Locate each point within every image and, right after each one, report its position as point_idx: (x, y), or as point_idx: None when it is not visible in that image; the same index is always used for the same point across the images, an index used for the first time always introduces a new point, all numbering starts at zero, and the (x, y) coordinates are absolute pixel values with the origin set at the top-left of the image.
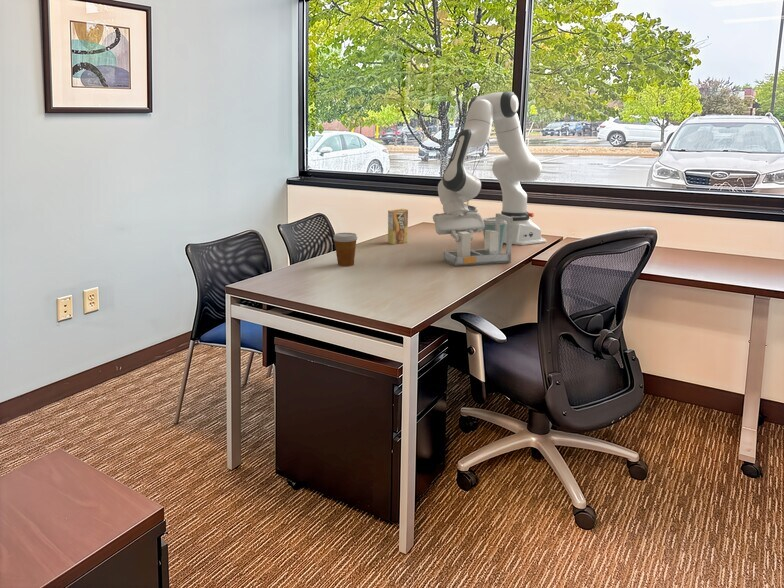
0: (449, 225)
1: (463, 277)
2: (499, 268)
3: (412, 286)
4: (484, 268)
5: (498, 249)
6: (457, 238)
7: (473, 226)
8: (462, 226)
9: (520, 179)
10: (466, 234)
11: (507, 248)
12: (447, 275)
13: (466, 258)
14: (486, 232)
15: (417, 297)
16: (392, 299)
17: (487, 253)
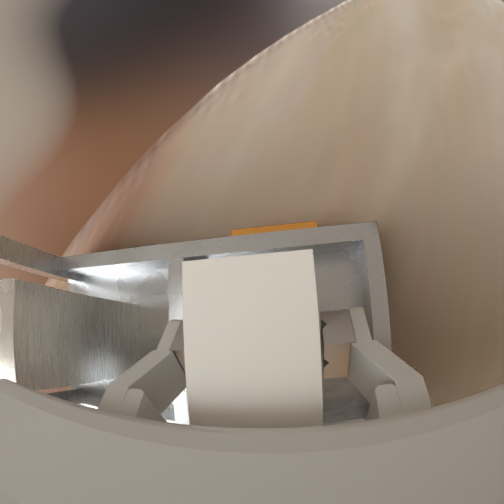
0: (493, 454)
1: (363, 68)
2: (165, 167)
3: (492, 54)
4: (228, 173)
5: (54, 388)
6: (358, 315)
7: (62, 416)
8: (227, 462)
9: None
10: (251, 258)
11: (41, 256)
12: (419, 101)
13: (300, 224)
14: (24, 360)
15: (462, 8)
16: (496, 20)
17: (122, 329)
